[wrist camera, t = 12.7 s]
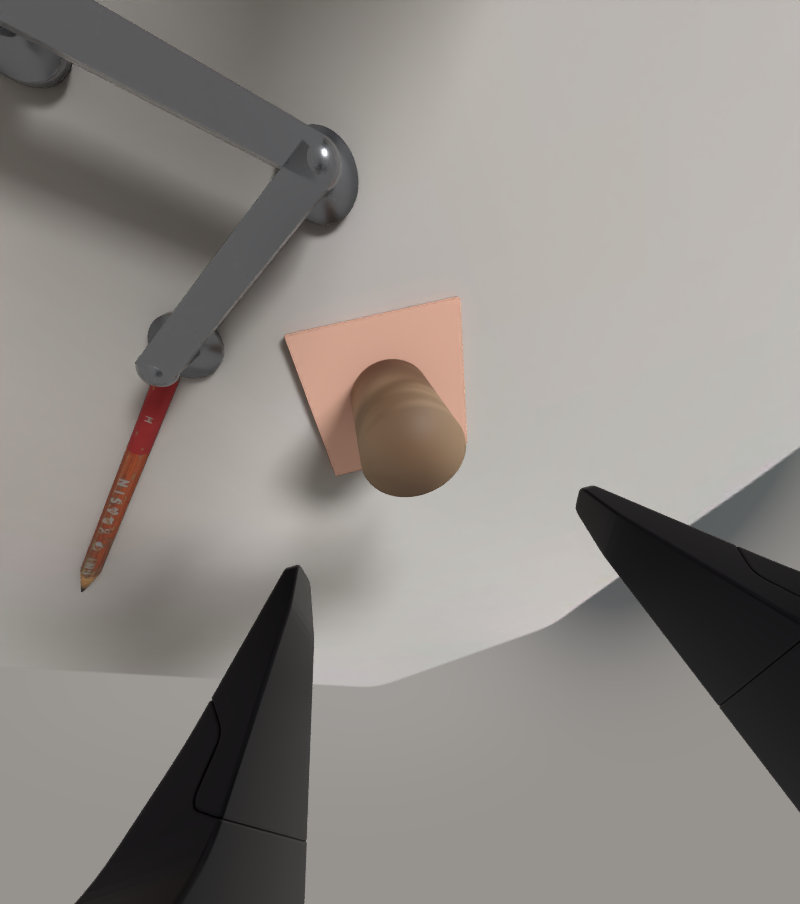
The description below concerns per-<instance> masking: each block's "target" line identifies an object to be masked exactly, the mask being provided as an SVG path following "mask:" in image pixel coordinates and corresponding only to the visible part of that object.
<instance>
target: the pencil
mask: <svg viewBox="0 0 800 904" xmlns="http://www.w3.org/2000/svg"><path fill="white" fill-rule="evenodd" d="M178 383H179V378H178V380H177V381H176V382H175V383H174V384H172V385H170V386H167V387H156V386H152V385H150V388H149V391H148V393H147V396H146V399H145V401H144V404H143V406H142V409H141V412H140V414H139V417H138V420H137V422H136V425H135V428H134V430H133V433H132V435H131V438H130V441H129V443H128V446H127V449H126V451H125V454H124V456H123V459H122V462H121V464H120V467H119V470H118V472H117V475H116V477H115V480H114V483H113V485H112V488H111V491H110V493H109V496H108V499H107V501H106V504H105V506H104V509H103V512H102V514H101V517H100V520H99V522H98V525H97V527H96V530H95V533H94V535H93V538H92V541H91V543H90V546H89V548H88V551H87V554H86V556H85V559H84V562H83V564H82V567H81V592H83V591H84V590H85V589H86V588H87V587H88V586H89V585H90V584H91V583H92V581H93V580H94V579H95V578H96V577H97V576H98V575H99V574H100V572H101V569H102V567H103V565H104V562H105V560H106V557H107V555H108V552H109V550H110V548H111V545H112V543H113V540H114V538H115V535H116V533H117V531H118V528H119V526H120V523H121V521H122V518H123V516H124V514H125V511H126V509H127V506H128V504H129V501H130V499H131V497H132V494H133V492H134V489H135V487H136V485H137V482H138V480H139V477H140V475H141V472H142V470H143V468H144V465H145V463H146V460H147V458H148V455H149V453H150V451H151V448H152V446H153V443H154V441H155V438H156V436H157V434H158V431H159V429H160V426H161V424H162V421H163V419H164V417H165V414H166V412H167V409H168V407H169V404H170V402H171V400H172V397H173V395H174V392H175V390H176V388H177V385H178Z"/></svg>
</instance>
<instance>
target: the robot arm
mask: <svg viewBox="0 0 800 904" xmlns="http://www.w3.org/2000/svg"><path fill="white" fill-rule="evenodd" d="M576 511H577V513H578V515H579V517H580V518H581V520H582V522H583V523H584V525H585V526H586V528H587V530H588V531H589V533H590V535H591V536H592V538H593V539H594V541H595V543H596V544H597V546H598V548H599V549H600V551H601V552H602V554H603V555H604V557H605V558H606V559H607V561H608V562H609V563H610V565H611V566H612V567H613V569H614V570H615V571H616V572H617V574H618V575H619V576H620V578H621V579H622V580H623V582H624V583H625V584H626V586H627V587H628V588H629V589H630V591H631V592H632V593H633V595H634V596H635V597H636V599H637V600H638V601H639V602H640V604H641V605H642V606H643V608H644V609H645V610H646V612H647V613H648V614H649V616H650V617H651V618H652V619H653V621H654V622H655V623H656V625H657V626H658V627H659V629H660V630H661V631H662V633H663V634H664V635H665V636H666V638H667V639H668V640H669V642H670V643H671V644H672V646H673V647H674V648H675V650H676V651H677V652H678V653H679V655H680V656H681V657H682V659H683V660H684V661H685V662H686V664H687V665H688V667H689V668H690V669H691V670H692V672H693V673H694V674H695V676H696V677H697V678H698V680H699V681H700V682H701V683H702V685H703V686H704V687H705V688H706V690H707V691H708V692H709V694H710V695H711V697H712V698H713V699H714V701H715V702H716V703H717V704H718V705H719V706H720V709H721V710H722V711H723V713H724V714H725V715H726V717H727V718H728V719H729V720H730V722H731V723H732V724H733V726H734V727H735V728H736V730H737V731H738V732H739V734H740V735H741V736H742V737H743V739H744V740H745V741H746V743H747V744H748V745H749V747H751V749H752V750H753V752H754V753H755V754H756V756H757V757H758V758H759V759H760V761H761V762H762V763H763V765H764V766H765V767H766V769H767V770H768V771H769V773H770V774H771V775H772V777H773V778H774V779H775V781H776V782H777V783H778V784H779V786H780V787H781V788H782V790H783V791H784V792H785V794H786V795H787V796H788V798H789V799H790V800H791V801H792V803H793V804H794V805H795V807H796V808H797V809H798V811H799V812H800V571H797V570H795V569H792V568H789V567H787V566H784V565H782V564H779V563H777V562H775V561H772V560H770V559H767V558H765V557H762V556H760V555H757V554H755V553H753V552H750V551H748V550H746V549H743V548H741V547H736V546H735V545H734V544H731V543H729V542H726V541H724V540H722V539H720V538H717V537H715V536H712V535H710V534H708V533H705V532H703V531H700V530H698V529H696V528H694V527H691V526H689V525H686V524H684V523H682V522H679V521H677V520H675V519H672V518H670V517H668V516H665V515H663V514H661V513H658V512H656V511H653V510H651V509H649V508H646V507H644V506H642V505H639V504H637V503H635V502H632V501H630V500H627V499H625V498H623V497H620V496H618V495H616V494H613V493H611V492H609V491H606V490H604V489H601V488H599V487H597V486H588V487H584V488H581V489H580V490H579V494H578V498H577V503H576ZM313 656H314V630H313V616H312V602H311V588H310V582H309V580H308V578H307V576H306V574H305V573H304V571H303V569H302V568H301V566H300V565H295V566H292V567H288V568H286V569H285V570H284V571H283V573H282V575H281V577H280V578H279V580H278V582H277V584H276V586H275V587H274V589H273V591H272V593H271V594H270V596H269V598H268V600H267V601H266V603H265V605H264V607H263V608H262V610H261V612H260V614H259V616H258V617H257V619H256V621H255V623H254V624H253V626H252V628H251V630H250V631H249V633H248V635H247V637H246V638H245V640H244V642H243V644H242V645H241V647H240V649H239V651H238V653H237V654H236V656H235V658H234V660H233V661H232V663H231V665H230V667H229V668H228V670H227V672H226V674H225V675H224V677H223V679H222V681H221V683H220V684H219V686H218V688H217V690H216V692H215V693H214V695H213V697H212V701H210V702H209V703H208V705H207V707H206V709H205V711H204V712H203V714H202V716H201V718H200V719H199V721H198V723H197V725H196V726H195V728H194V729H193V731H192V733H191V735H190V736H189V738H188V740H187V741H186V743H185V745H184V746H183V748H182V749H181V751H180V753H179V754H178V756H177V757H176V759H175V761H174V762H173V764H172V765H171V767H170V769H169V770H168V771H167V773H166V775H165V776H164V778H163V779H162V781H161V782H160V784H159V785H158V787H157V788H156V790H155V791H154V793H153V795H152V796H151V797H150V799H149V801H148V802H147V804H146V805H145V807H144V808H143V810H142V811H141V813H140V814H139V816H138V817H137V819H136V820H135V822H134V823H133V825H132V827H131V828H130V829H129V831H128V832H127V834H126V836H125V837H124V839H123V840H122V842H121V843H120V845H119V846H118V848H117V849H116V851H115V852H114V854H113V855H112V857H111V858H110V859H109V861H108V862H107V864H106V866H105V867H104V868H103V869H102V871H101V872H100V873H99V875H98V876H97V877H96V879H95V880H94V881H93V882H92V884H91V885H90V886H89V887H88V889H87V890H86V891H85V892H84V894H83V895H82V896H81V897H80V898H79V899H78V900H77V902H76V903H75V904H304V899H305V871H306V845H307V843H306V842H305V841H306V839H307V815H308V788H309V762H310V735H311V708H312V682H313Z"/></svg>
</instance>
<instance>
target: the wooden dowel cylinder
mask: <svg viewBox="0 0 800 904" xmlns="http://www.w3.org/2000/svg"><path fill="white" fill-rule="evenodd" d="M351 405H352V411H353V417H354V424H355V430H356V436H357V442H358V449H359V455H360V461H361V467H362V470H363V473H364V475H365V477H366V479H367V480H368V481H369V483H370V484H371V485H372V486H374V487H375V488H376V489H378V490H379V491H381V492H383V493H385V494H388V495H392V496H397V497H413V496H419V495H423V494H426V493H429V492H431V491H433V490H435V489H437V488H439V487H441V486H442V485H444V484H445V483H446V482H447V481H449V480H450V479H451V478H452V477H453V476H454V474H455V473H456V472H457V471H458V469H459V467H460V466H461V464H462V461H463V459H464V456H465V451H466V439H465V435H464V432H463V430H462V428H461V426H460V425H459V423H458V422H457V420H456V419H455V418H454V416H453V415H452V414H451V412H450V411H449V409H448V408H447V407H446V405H445V404H444V402H443V401H442V400H441V398H440V397H439V395H438V394H437V393H436V391H435V390H434V388H433V387H432V386H431V384H430V383H429V382H428V380H427V379H426V377H425V376H424V375H423V373H422V372H421V371H420V370H419V369H418V368H417V367H416V366H415V365H413V364H411V363H409V362H407V361H404V360H400V359H386V360H382V361H378V362H376V363H374V364H372V365H370V366H369V367H367V368H366V369H365V370H364V371H363V372H362V373H361V374H360V375H359V376H358V378H357V379H356V381H355V383H354V385H353V388H352V392H351Z"/></svg>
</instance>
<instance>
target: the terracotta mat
mask: <svg viewBox="0 0 800 904" xmlns="http://www.w3.org/2000/svg"><path fill="white" fill-rule="evenodd" d="M285 340H286V343H287V345H288V348H289V351H290V354H291V356H292V359H293V362H294V364H295V367H296V370H297V372H298V375H299V378H300V381H301V383H302V386H303V389H304V391H305V394H306V397H307V399H308V402H309V405H310V408H311V410H312V413H313V416H314V418H315V421H316V424H317V427H318V429H319V432H320V435H321V437H322V440H323V443H324V445H325V448H326V451H327V454H328V456H329V459H330V462H331V464H332V467H333V470H334V472H335V475H336V476H338V475H342V474H346V473H350V472H354V471H358V470H362V467H361V461H360V455H359V449H358V442H357V436H356V430H355V424H354V417H353V411H352V405H351V392H352V388H353V385H354V383H355V381H356V379H357V378H358V376H359V375H360V374H361V373H362V372H363V371H364V370H365V369H366V368H367V367H369V366H370V365H372V364H374V363H376V362H378V361H382V360H386V359H400V360H404V361H407V362H409V363H411V364H413V365H415V366H416V367H417V368H418V369H419V370H420V371H421V372H422V373H423V375H424V376H425V377H426V379H427V380H428V382H429V383H430V384H431V386H432V387H433V388H434V390H435V391H436V393H437V394H438V395H439V397H440V398H441V400H442V401H443V402H444V404H445V405H446V407H447V408H448V409H449V411H450V412H451V414H452V415H453V416H454V418H455V419H456V420H457V422H458V423H459V425H460V426H461V428H462V430H463V432H464V435H465V439H466V443H467V426H466V406H465V385H464V365H463V344H462V324H461V303H460V298H459V297H453V298H448V299H444V300H439V301H435V302H430V303H426V304H421V305H417V306H412V307H408V308H403V309H399V310H394V311H390V312H385V313H381V314H376V315H372V316H367V317H363V318H358V319H354V320H349V321H345V322H340V323H336V324H331V325H326V326H322V327H317V328H313V329H308V330H304V331H299V332H295V333H290V334H286V335H285Z"/></svg>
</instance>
